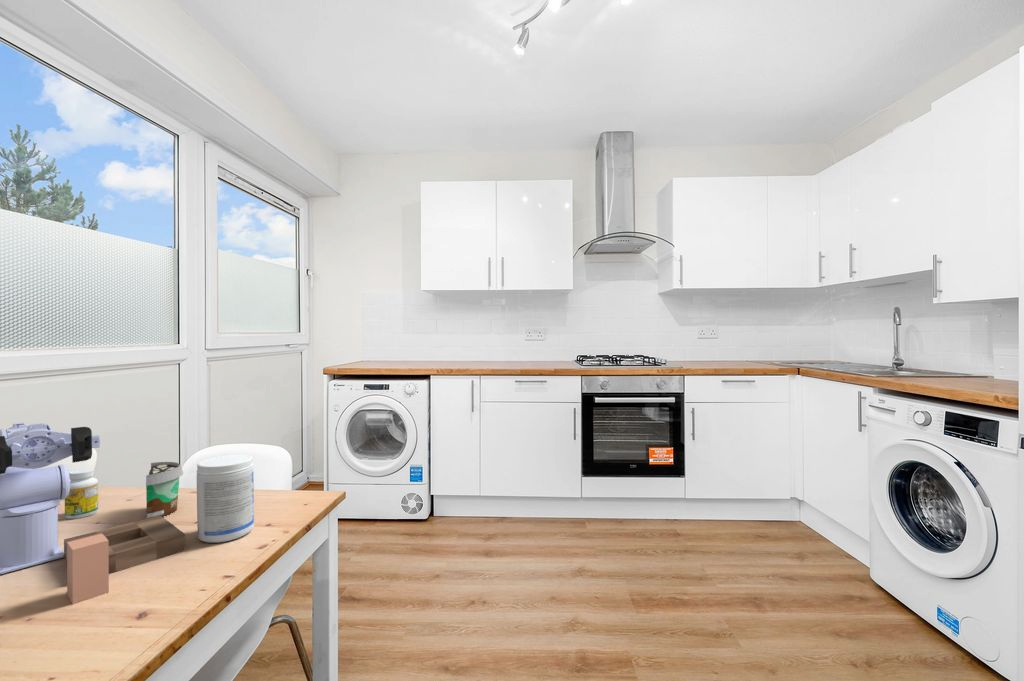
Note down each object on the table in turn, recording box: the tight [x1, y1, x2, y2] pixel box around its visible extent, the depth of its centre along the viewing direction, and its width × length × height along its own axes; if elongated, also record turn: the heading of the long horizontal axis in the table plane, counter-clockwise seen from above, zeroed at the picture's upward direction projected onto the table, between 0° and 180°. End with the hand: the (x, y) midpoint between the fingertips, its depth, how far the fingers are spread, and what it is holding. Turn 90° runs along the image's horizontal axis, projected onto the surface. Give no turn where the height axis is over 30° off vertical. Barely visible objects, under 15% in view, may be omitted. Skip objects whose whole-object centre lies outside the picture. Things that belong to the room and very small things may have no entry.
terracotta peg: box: [66, 534, 110, 605], centre depth 70 cm, size 4×4×8 cm
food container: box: [145, 461, 184, 519], centre depth 102 cm, size 12×6×10 cm, turn 34°
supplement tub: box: [196, 454, 255, 544], centre depth 91 cm, size 10×10×15 cm
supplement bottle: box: [64, 468, 99, 520], centre depth 100 cm, size 5×5×10 cm
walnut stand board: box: [63, 515, 186, 575], centre depth 82 cm, size 14×14×3 cm
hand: (46, 452), depth 68 cm, fingers open, 7 cm apart
